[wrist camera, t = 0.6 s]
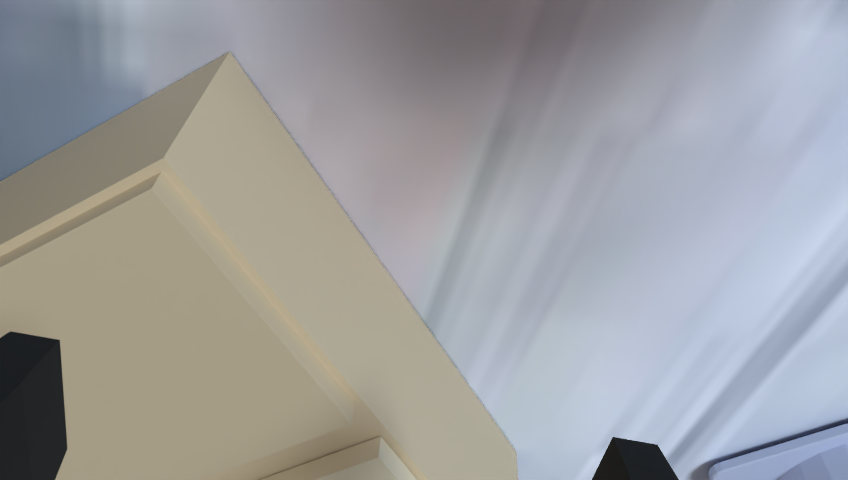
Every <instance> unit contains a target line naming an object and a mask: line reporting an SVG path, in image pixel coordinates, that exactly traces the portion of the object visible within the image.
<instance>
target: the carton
mask: <svg viewBox="0 0 848 480" xmlns="http://www.w3.org/2000/svg"><path fill="white" fill-rule="evenodd" d="M10 331H12V332H18V333H23V334H29V335H35V336H40V337H46V338H52V339H57V340H60V349H61V363H62V378H63V392H64V406H65V421H66V435H67V451H66V454H65V456H64V459H63V461H62V464H61V466H60V469H59V471H58V474H57V476H56V479H55V480H261V479H264V478H267V477H269V476H272V475H275V474H278V473H280V472H283V471H286V470H289V469H291V468H294V467H297V466H300V465H302V464H305V463H308V462H311V461H314V460H316V459H319V458H322V457H325V456H327V455H330V454H333V453H336V452H338V451H341V450H344V449H347V448H349V447H352V446H355V445H358V444H360V443H363V442H366V441H369V440H372V439H374V438H377V437H380V436H381V437H382V438H383V439H384V441H385V442H386V443H387V444H388V445H389V447H390V448H391V449H392V450H393V451H394V453H395V454H396V455H397V456H398V457H399V459H400V460H401V461H402V462H403V463H404V465H405V466H406V467H407V468H408V469H409V471H410V472H411V473H412V474H413V475H414V477H415V478H416V479H417V480H518V470H517V457H516V451H515V449H514V448H513V447H512V445H511V444H510V442H509V441H508V440H507V438H506V437H505V436H504V434H503V433H502V431H501V430H500V429H499V427H498V426H497V424H496V423H495V422H494V420H493V419H492V417H491V416H490V415H489V413H488V412H487V410H486V409H485V408H484V406H483V405H482V403H481V402H480V401H479V399H478V398H477V396H476V395H475V394H474V392H473V391H472V389H471V388H470V387H469V385H468V384H467V382H466V381H465V380H464V378H463V377H462V375H461V374H460V373H459V371H458V370H457V368H456V367H455V366H454V364H453V363H452V361H451V360H450V359H449V357H448V356H447V354H446V353H445V352H444V350H443V349H442V347H441V346H440V345H439V343H438V342H437V340H436V339H435V338H434V336H433V335H432V333H431V332H430V331H429V329H428V328H427V326H426V325H425V324H424V322H423V321H422V319H421V318H420V317H419V315H418V314H417V312H416V311H415V310H414V308H413V307H412V305H411V304H410V303H409V301H408V300H407V298H406V297H405V296H404V294H403V293H402V291H401V290H400V289H399V287H398V286H397V284H396V283H395V282H394V280H393V279H392V277H391V276H390V275H389V273H388V272H387V270H386V269H385V268H384V266H383V265H382V263H381V262H380V261H379V259H378V258H377V257H376V255H375V254H374V252H373V251H372V250H371V248H370V247H369V245H368V244H367V243H366V241H365V240H364V238H363V237H362V236H361V234H360V233H359V231H358V230H357V229H356V227H355V226H354V224H353V223H352V222H351V220H350V219H349V217H348V216H347V215H346V213H345V212H344V210H343V209H342V208H341V206H340V205H339V203H338V202H337V201H336V199H335V198H334V196H333V195H332V194H331V192H330V191H329V189H328V188H327V187H326V185H325V184H324V182H323V181H322V180H321V178H320V177H319V175H318V174H317V173H316V171H315V170H314V168H313V167H312V166H311V164H310V163H309V161H308V160H307V159H306V157H305V156H304V154H303V153H302V152H301V150H300V149H299V147H298V146H297V145H296V143H295V142H294V140H293V139H292V138H291V136H290V135H289V133H288V132H287V131H286V129H285V128H284V126H283V125H282V124H281V122H280V121H279V119H278V118H277V117H276V115H275V114H274V112H273V111H272V110H271V108H270V107H269V105H268V104H267V103H266V101H265V100H264V98H263V97H262V96H261V94H260V93H259V91H258V90H257V89H256V87H255V86H254V84H253V83H252V82H251V80H250V79H249V78H248V76H247V75H246V73H245V72H244V71H243V69H242V68H241V66H240V65H239V64H238V62H237V61H236V59H235V58H234V57H233V55H232V54H231V52H228V53H226V54H224V55H223V56H221V57H219V58H217V59H215V60H214V61H212V62H210V63H208V64H207V65H205V66H203V67H201V68H200V69H198V70H196V71H194V72H193V73H191V74H189V75H187V76H185V77H184V78H182V79H180V80H178V81H177V82H175V83H173V84H171V85H170V86H168V87H166V88H164V89H163V90H161V91H159V92H157V93H155V94H154V95H152V96H150V97H148V98H147V99H145V100H143V101H141V102H140V103H138V104H136V105H134V106H133V107H131V108H129V109H127V110H125V111H124V112H122V113H120V114H118V115H117V116H115V117H113V118H111V119H110V120H108V121H106V122H104V123H103V124H101V125H99V126H97V127H95V128H94V129H92V130H90V131H88V132H87V133H85V134H83V135H81V136H80V137H78V138H76V139H74V140H73V141H71V142H69V143H67V144H65V145H64V146H62V147H60V148H58V149H57V150H55V151H53V152H51V153H50V154H48V155H46V156H44V157H43V158H41V159H39V160H37V161H35V162H34V163H32V164H30V165H28V166H27V167H25V168H23V169H21V170H20V171H18V172H16V173H14V174H13V175H11V176H9V177H7V178H5V179H4V180H2V181H0V338H1V337H2V336H4V335H5V334H7V333H9V332H10Z"/></svg>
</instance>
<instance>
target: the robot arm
mask: <svg viewBox="0 0 848 480" xmlns="http://www.w3.org/2000/svg"><path fill="white" fill-rule="evenodd" d="M66 451H67V435H66V421H65V406H64V392H63V378H62V363H61V349H60V340H57V339H52V338H46V337H40V336H35V335H29V334H23V333H18V332H12V331H10V332H9V333H7V334H5V335H4V336H2V337H1V338H0V480H55V479H56V476H57V474H58V471H59V469H60V466H61V464H62V461H63V459H64V456H65V454H66ZM708 475H709V479H710V480H848V423H846V424H843V425H840V426H837V427H833V428H830V429H827V430H824V431H820V432H817V433H814V434H810V435H807V436H804V437H801V438H797V439H794V440H791V441H788V442H784V443H781V444H778V445H774V446H771V447H768V448H765V449H761V450H758V451H755V452H752V453H748V454H745V455H742V456H738V457H735V458H732V459H729V460H725V461H722V462H719V463H717V464H715V465H713V466H712V467H711V468H710V469H709V472H708ZM592 480H678V478H677V476H676V475H675V473H674V471H673V470H672V468H671V466H670V465H669V463H668V462H667V460H666V458H665V457H664V455H663V453H662V452H661V450H660V449H659V447H658V445H655V444H649V443H644V442H638V441H632V440H627V439H621V438H615V437H613V438H612V440H611V442H610V444H609V446H608V448H607V450H606V452H605V454H604V456H603V458H602V460H601V462H600V464H599V466H598V468H597V470H596V473H595V475H594V477H593V479H592Z"/></svg>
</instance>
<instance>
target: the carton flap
mask: <svg viewBox="0 0 848 480" xmlns="http://www.w3.org/2000/svg"><path fill="white" fill-rule="evenodd" d="M261 480H417V479H416V478H415V477H414V475H413V474H412V473H411V472H410V471H409V469H408V468H407V467H406V466H405V465H404V463H403V462H402V461H401V460H400V459H399V457H398V456H397V455H396V454H395V453H394V451H393V450H392V449H391V448H390V447H389V445H388V444H387V443H386V442H385V441H384V439H383V438H382V437H381V436H380V437H377V438H374V439H372V440H369V441H366V442H363V443H360V444H358V445H355V446H352V447H349V448H347V449H344V450H341V451H338V452H336V453H333V454H330V455H327V456H325V457H322V458H319V459H316V460H314V461H311V462H308V463H305V464H302V465H300V466H297V467H294V468H291V469H289V470H286V471H283V472H280V473H278V474H275V475H272V476H269V477H267V478H264V479H261Z"/></svg>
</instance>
